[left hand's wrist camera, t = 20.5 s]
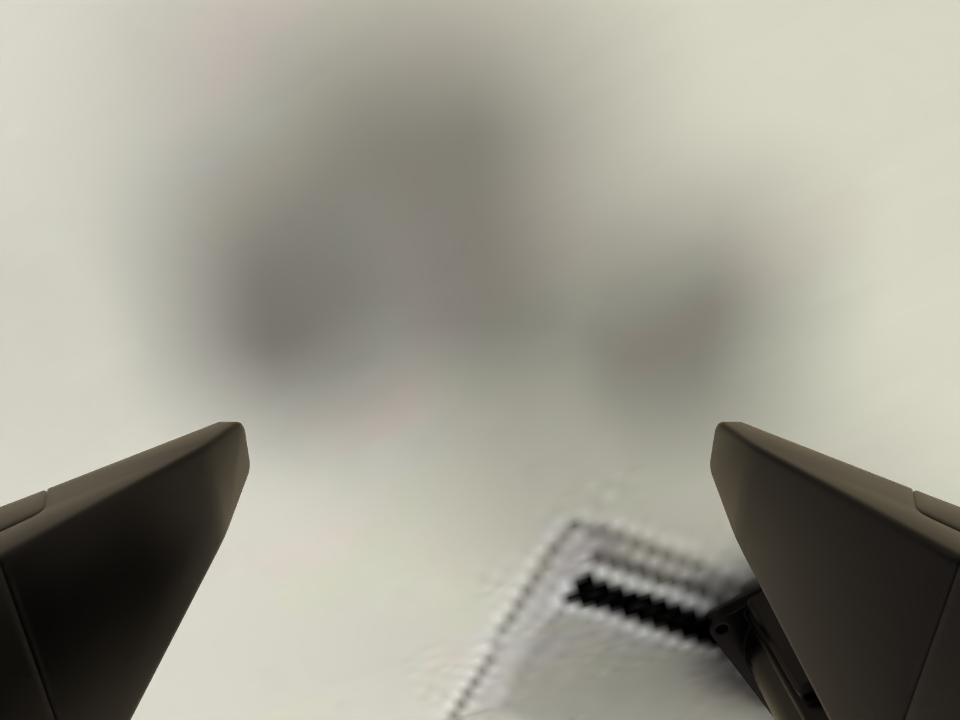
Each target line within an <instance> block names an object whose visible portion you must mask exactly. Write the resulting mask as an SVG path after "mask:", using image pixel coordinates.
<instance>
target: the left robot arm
mask: <svg viewBox="0 0 960 720" xmlns="http://www.w3.org/2000/svg"><path fill="white" fill-rule="evenodd" d="M249 467H250V461H249V454H248V448H247V442H246V435H245V430H244V427H243V425H242V424H241V423H239V422H218V423H215V424H213V425H210V426H208V427H205V428H203V429H200V430H197V431H195V432H192V433H190V434H187V435H185V436H182V437H180V438H177V439H174V440H172V441H169V442H167V443H164V444H162V445H159V446H156V447H154V448H151V449H149V450H146V451H144V452H141V453H139V454H136V455H133V456H131V457H128V458H126V459H123V460H121V461H118V462H115V463H113V464H110V465H108V466H105V467H103V468H100V469H98V470H95V471H92V472H90V473H87V474H85V475H82V476H80V477H77V478H74V479H72V480H69V481H67V482H64V483H62V484H59V485H57V486H54V487H51V488H49V489H48V490H47V492H46V491H41V492H38V493H36V494H33V495H31V496H28V497H26V498H23V499H20V500H18V501H15V502H12V503H10V504H7V505H4V506H2V507H0V720H131V718H132V716H133V714H134V712H135V710H136V708H137V706H138V704H139V702H140V700H141V698H142V697H143V695H144V693H145V691H146V689H147V687H148V685H149V683H150V681H151V679H152V677H153V675H154V673H155V671H156V669H157V668H158V666H159V664H160V662H161V660H162V658H163V656H164V654H165V652H166V650H167V648H168V646H169V644H170V642H171V640H172V638H173V637H174V635H175V633H176V631H177V629H178V627H179V625H180V623H181V621H182V619H183V617H184V615H185V613H186V611H187V609H188V607H189V606H190V604H191V602H192V600H193V598H194V596H195V594H196V592H197V590H198V588H199V586H200V584H201V582H202V580H203V578H204V577H205V575H206V573H207V571H208V569H209V567H210V565H211V563H212V561H213V559H214V557H215V555H216V553H217V551H218V549H219V547H220V545H221V543H222V541H223V539H224V537H225V534H226V532H227V530H228V527H229V524H230V522H231V519H232V516H233V514H234V511H235V508H236V506H237V503H238V500H239V497H240V495H241V492H242V489H243V487H244V484H245V481H246V479H247V476H248V473H249ZM710 467H711V473H712V476H713V479H714V481H715V484H716V487H717V489H718V492H719V495H720V497H721V500H722V503H723V506H724V508H725V511H726V514H727V516H728V519H729V522H730V524H731V527H732V530H733V532H734V534H735V537H736V539H737V541H738V543H739V545H740V547H741V549H742V551H743V553H744V555H745V557H746V559H747V561H748V563H749V565H750V567H751V569H752V571H753V573H754V575H755V577H756V578H757V580H758V582H759V584H760V586H761V589H759V590H757V591H755V592H753V593H751V594H749V595H748V596H746V597H744V598H742V599H740V600H738V601H736V602H734V603H732V604H730V605H728V606H726V607H724V608H722V609H720V610H718V611H716V612H715V613H713V614H711V615H710V616H709V617H708V618H707V620H706V625H707V627H708V629H709V632H710V634H711V636H712V637H713V638H714V639H715V641H716V642H717V643H718V645H719V646H720V647H721V649H722V650H723V651H724V653H725V654H726V655H727V657H728V658H729V659H730V660H731V662H732V663H733V664H734V666H735V667H736V668H737V670H738V671H739V672H740V674H741V675H742V676H743V677H744V679H745V680H746V681H747V683H748V684H749V685H750V687H751V688H752V689H753V691H754V692H755V693H756V695H757V696H758V697H759V698H760V700H761V701H762V702H763V704H764V705H765V706H766V708H767V709H768V710H769V712H770V713H771V714H772V716H773V717H774V719H775V720H960V507H958V506H956V505H953V504H950V503H948V502H945V501H942V500H940V499H937V498H934V497H932V496H929V495H927V494H924V493H922V492H919V491H914V492H913V490H912V489H911V488H909V487H906V486H903V485H901V484H898V483H896V482H893V481H891V480H888V479H886V478H883V477H880V476H878V475H875V474H873V473H870V472H868V471H865V470H862V469H860V468H857V467H855V466H852V465H850V464H847V463H845V462H842V461H839V460H837V459H834V458H832V457H829V456H827V455H824V454H821V453H819V452H816V451H814V450H811V449H809V448H806V447H804V446H801V445H798V444H796V443H793V442H791V441H788V440H786V439H783V438H780V437H778V436H775V435H773V434H770V433H768V432H765V431H763V430H760V429H757V428H755V427H752V426H750V425H747V424H745V423H742V422H721V423H719V424H718V425H717V427H716V430H715V435H714V442H713V448H712V454H711V461H710ZM721 624H723V625H721ZM719 625H721V626H719Z"/></svg>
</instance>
